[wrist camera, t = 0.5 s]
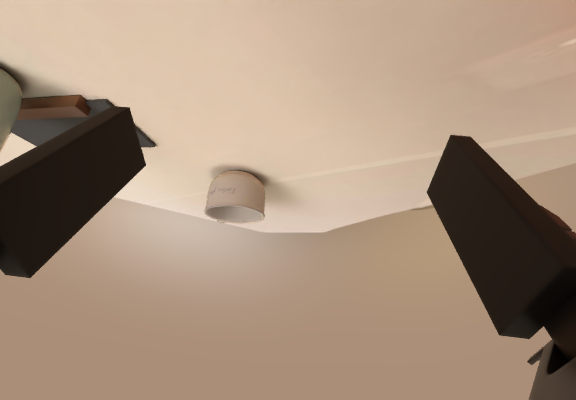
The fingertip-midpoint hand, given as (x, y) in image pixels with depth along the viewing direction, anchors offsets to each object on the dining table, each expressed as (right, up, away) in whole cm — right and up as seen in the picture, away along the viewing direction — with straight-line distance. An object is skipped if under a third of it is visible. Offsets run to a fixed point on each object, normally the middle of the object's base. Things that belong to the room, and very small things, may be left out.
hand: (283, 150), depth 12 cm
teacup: (-10, +2, +44) cm, 45 cm away
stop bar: (-34, +11, +26) cm, 44 cm away
